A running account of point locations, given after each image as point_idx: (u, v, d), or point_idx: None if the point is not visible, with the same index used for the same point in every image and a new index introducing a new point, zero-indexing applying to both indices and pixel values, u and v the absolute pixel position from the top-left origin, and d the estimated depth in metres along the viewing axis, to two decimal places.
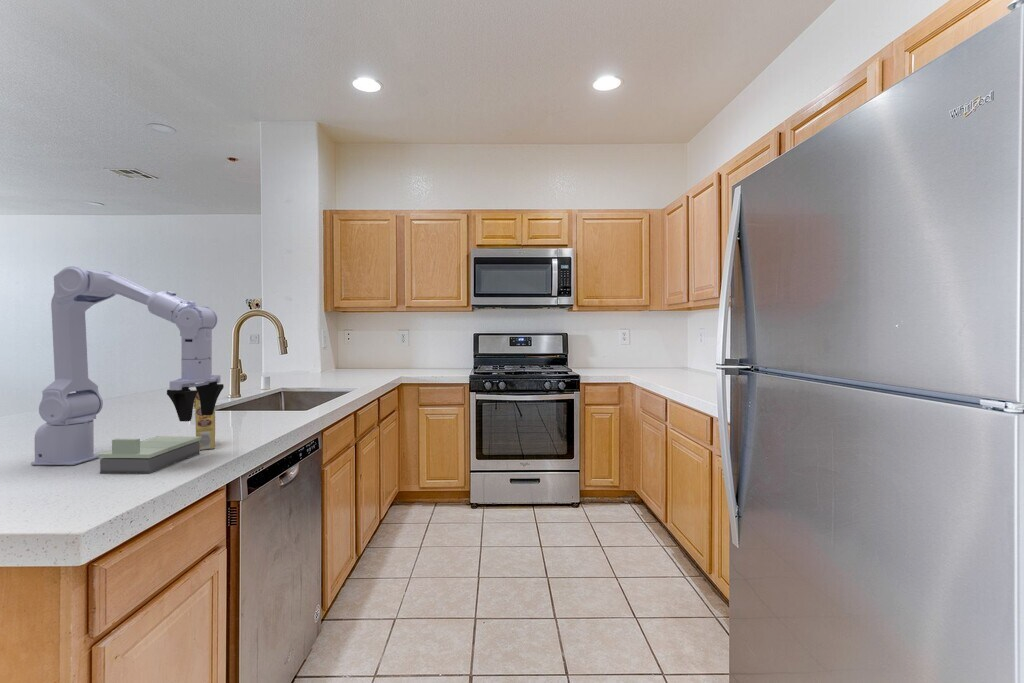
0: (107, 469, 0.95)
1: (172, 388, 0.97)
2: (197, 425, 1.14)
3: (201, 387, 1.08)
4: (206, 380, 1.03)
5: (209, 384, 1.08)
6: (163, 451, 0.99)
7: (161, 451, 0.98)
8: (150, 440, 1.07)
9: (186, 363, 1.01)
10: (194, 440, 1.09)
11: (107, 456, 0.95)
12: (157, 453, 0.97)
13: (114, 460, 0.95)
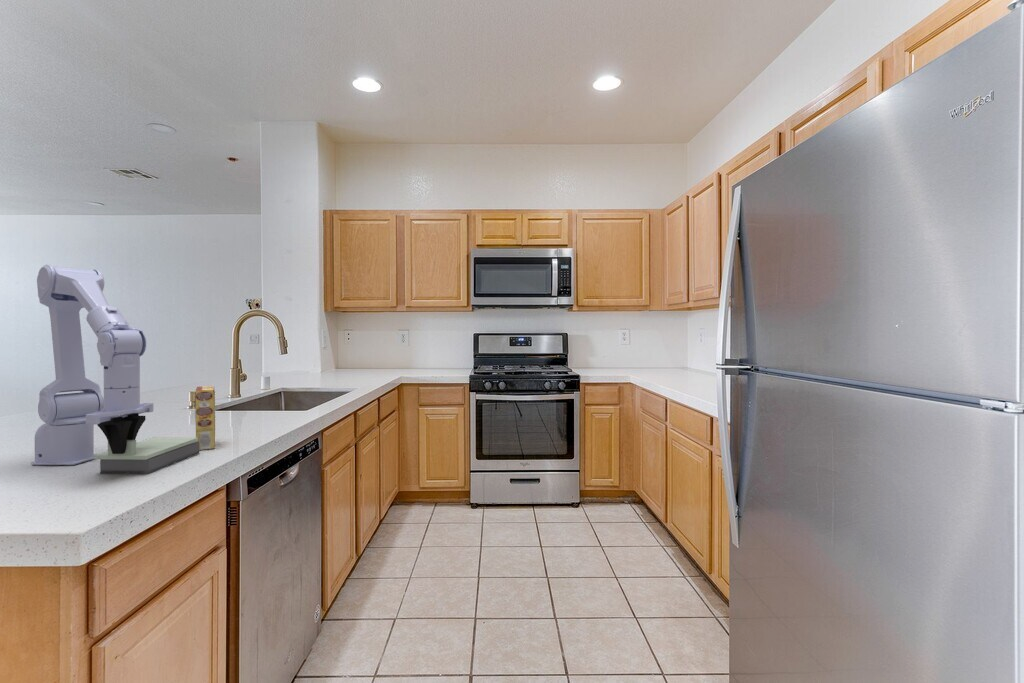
0: (107, 469, 0.95)
1: (88, 422, 0.87)
2: (197, 425, 1.14)
3: None
4: (132, 411, 0.93)
5: None
6: (160, 452, 0.98)
7: (157, 452, 0.97)
8: (147, 441, 1.06)
9: (108, 393, 0.92)
10: (191, 441, 1.08)
11: (103, 457, 0.94)
12: (153, 454, 0.96)
13: (114, 460, 0.95)
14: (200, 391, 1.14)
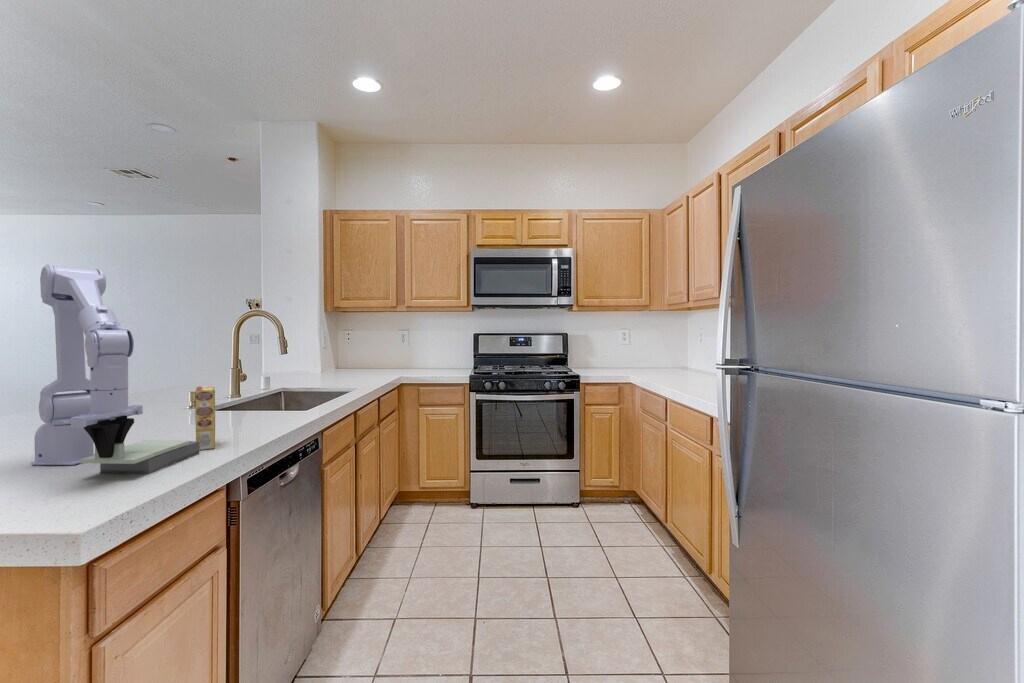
0: (107, 469, 0.95)
1: (74, 425, 0.84)
2: (197, 425, 1.14)
3: None
4: (119, 414, 0.90)
5: (127, 416, 0.95)
6: (149, 456, 0.95)
7: (146, 456, 0.94)
8: (136, 444, 1.03)
9: (95, 395, 0.89)
10: (182, 444, 1.05)
11: (90, 461, 0.91)
12: (142, 458, 0.93)
13: None
14: (200, 391, 1.14)
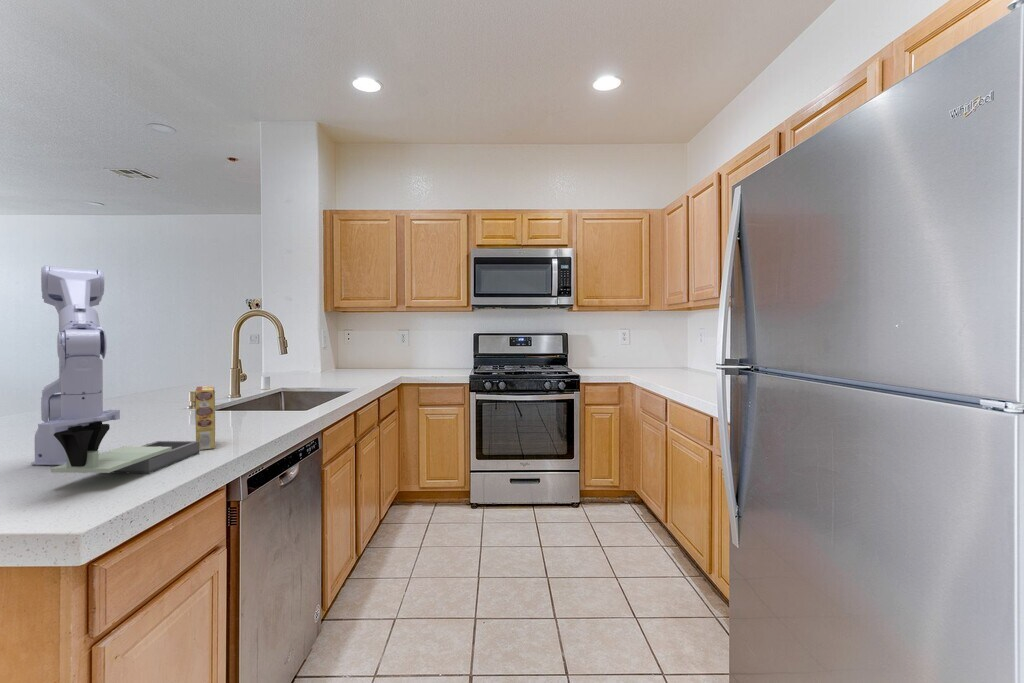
0: None
1: (41, 432, 0.78)
2: (197, 425, 1.14)
3: None
4: (92, 419, 0.84)
5: None
6: (125, 464, 0.89)
7: (122, 465, 0.88)
8: (114, 451, 0.97)
9: (65, 399, 0.83)
10: (163, 451, 0.99)
11: (61, 470, 0.85)
12: (118, 467, 0.87)
13: None
14: (200, 391, 1.14)
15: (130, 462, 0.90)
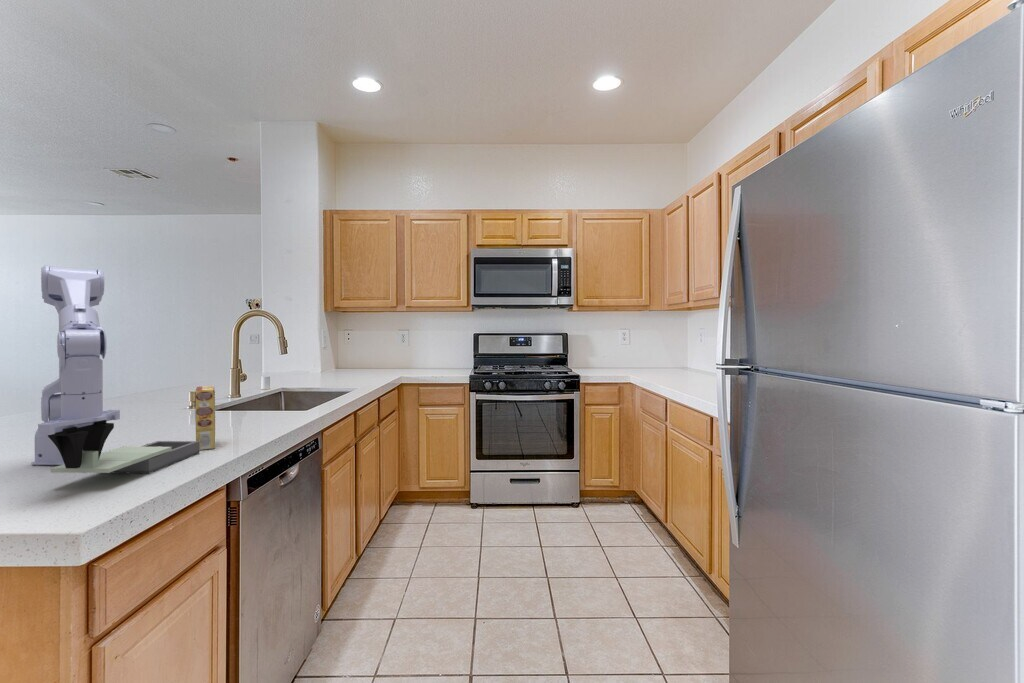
0: None
1: (41, 432, 0.78)
2: (197, 425, 1.14)
3: (84, 428, 0.87)
4: (92, 419, 0.84)
5: None
6: (125, 464, 0.89)
7: (122, 465, 0.88)
8: (114, 451, 0.97)
9: (65, 399, 0.83)
10: (163, 451, 0.99)
11: (61, 470, 0.85)
12: (118, 467, 0.87)
13: None
14: (200, 391, 1.14)
15: (130, 462, 0.90)
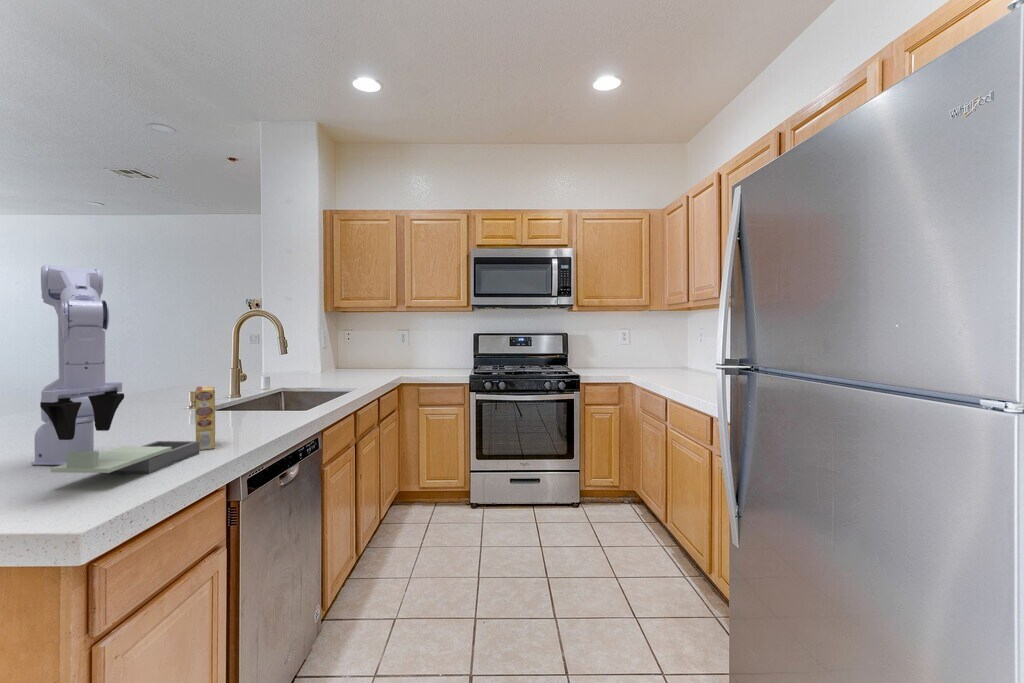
0: None
1: (44, 399, 0.79)
2: (197, 425, 1.14)
3: (95, 397, 0.90)
4: (95, 389, 0.85)
5: (105, 393, 0.90)
6: (125, 464, 0.89)
7: (122, 465, 0.88)
8: (114, 451, 0.97)
9: (68, 369, 0.83)
10: (163, 451, 0.99)
11: (61, 470, 0.85)
12: (118, 467, 0.87)
13: None
14: (200, 391, 1.14)
15: (130, 462, 0.90)
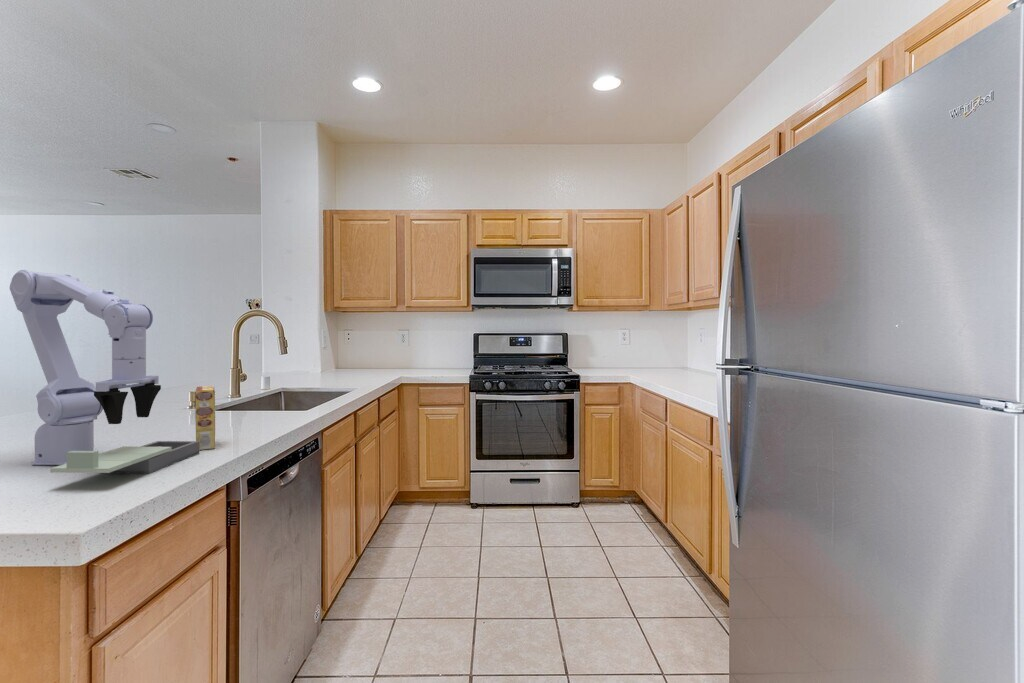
0: None
1: (98, 389, 0.93)
2: (197, 425, 1.14)
3: (136, 388, 1.04)
4: (138, 381, 0.99)
5: (145, 385, 1.04)
6: (125, 464, 0.89)
7: (122, 465, 0.88)
8: (114, 451, 0.97)
9: (116, 363, 0.97)
10: (163, 451, 0.99)
11: (61, 470, 0.85)
12: (118, 467, 0.87)
13: None
14: (200, 391, 1.14)
15: (130, 462, 0.90)
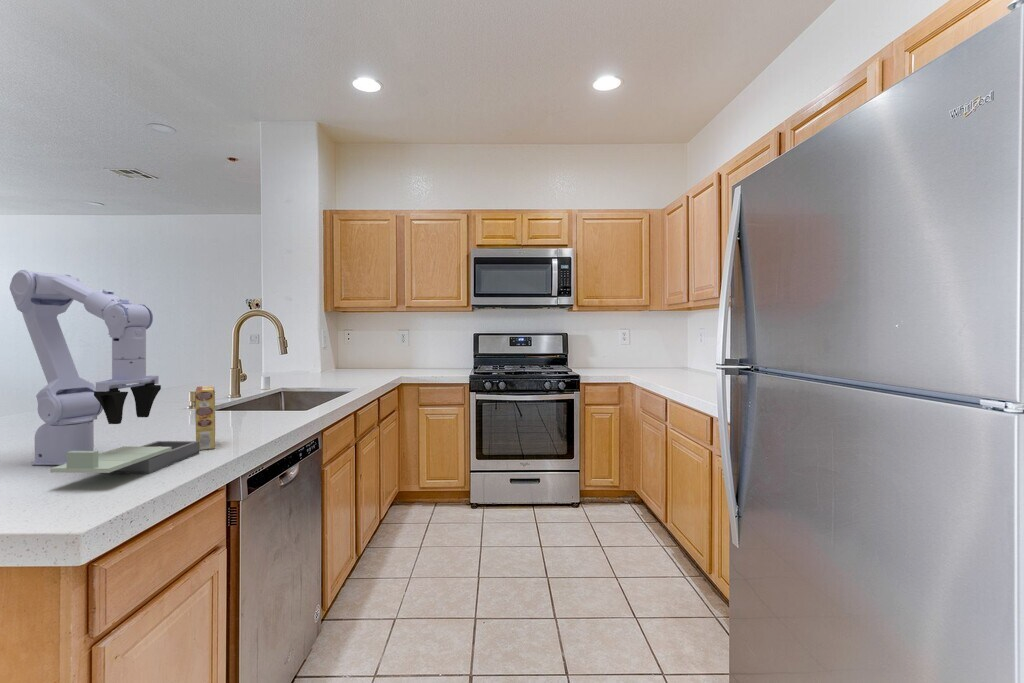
0: None
1: (98, 389, 0.93)
2: (197, 425, 1.14)
3: (136, 388, 1.04)
4: (138, 381, 0.99)
5: (145, 385, 1.04)
6: (125, 464, 0.89)
7: (122, 465, 0.88)
8: (114, 451, 0.97)
9: (116, 363, 0.97)
10: (163, 451, 0.99)
11: (61, 470, 0.85)
12: (118, 467, 0.87)
13: None
14: (200, 391, 1.14)
15: (130, 462, 0.90)
